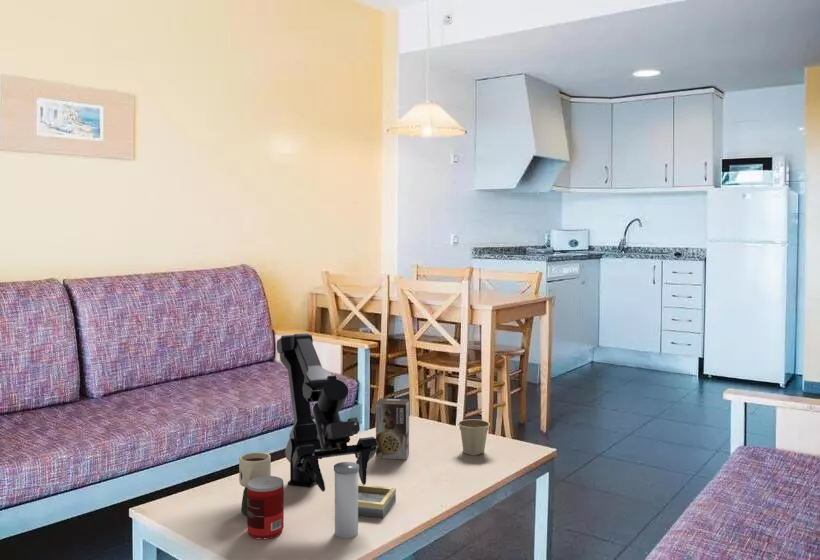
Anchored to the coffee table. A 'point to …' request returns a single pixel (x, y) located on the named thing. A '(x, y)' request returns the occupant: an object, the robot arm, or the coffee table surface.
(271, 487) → the canned food
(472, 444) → the flower pot
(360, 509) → the tan rimmed dish
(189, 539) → the coffee table surface
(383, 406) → the coffee box
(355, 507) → the tall white tube
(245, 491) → the character mug
